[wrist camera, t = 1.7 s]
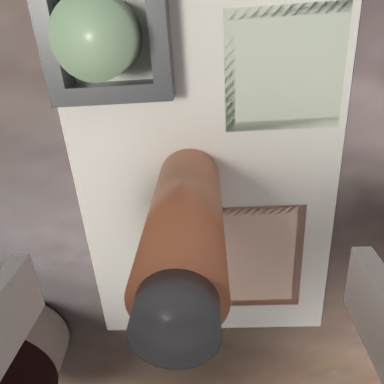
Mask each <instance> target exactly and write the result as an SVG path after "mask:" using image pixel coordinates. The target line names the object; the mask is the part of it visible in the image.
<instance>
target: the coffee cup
mask: <svg viewBox="0 0 384 384" xmlns="http://www.w3.org/2000/svg"><path fill="white" fill-rule="evenodd" d="M68 345H69V330H68V327H67V325H66V323H65V321H64V320H63V319H62V318H61V316H60V315H59V314H58V313H57V312H55V311H54V310H53V309H51V308H49V307H48V306H46V305H45V306H44V308H43V310H42V311H41V313H40V315H39V316H38V318H37V320H36V322H35V323H34V325H33V327H32V328H31V330H30V332H29V334H28V335H27V337H26V339H25V340H24V342H23V344H22V346H21V347H20V349H19V351H18V352H17V354H16V356H15V358H14V359H13V361H12V363H11V364H10V366H9V368H8V370H7V371H6V373H5V375H4V376H3V378H2V380H1V382H0V384H58V375H59V372H60V369H61V366H62V363H63V360H64V357H65V354H66V351H67V348H68Z"/></svg>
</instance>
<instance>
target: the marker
mask: <svg viewBox="0 0 384 384" xmlns="http://www.w3.org/2000/svg"><path fill="white" fill-rule="evenodd" d="M124 302H125V307H126V310H127V312H128V315H129V316H130V318H129V322H128V325H127V331H126V335H127V340H128V343H129V345H130V347H131V349H132V350H133V351H134V353H135V354H136V355H137V356H138V357H140V358H141V359H142V360H144V361H145V362H147V363H149V364H151V365H154V366H157V367H160V368H164V369H171V370H182V369H189V368H193V367H197V366H199V365H202V364H204V363H205V362H207V361H208V360H210V359H211V358H212V357H213V356H214V355H215V354H216V353H217V351H218V350H219V348H220V345H221V341H222V329H221V325H222V324H223V323H224V321H225V320H226V318H227V316H228V314H229V311H230V307H231V298H230V287H229V276H228V265H227V254H226V243H225V233H224V222H223V211H222V200H221V189H220V178H219V170H218V167H217V165H216V163H215V161H214V160H213V159H212V158H211V157H210V156H209V155H208V154H206V153H205V152H203V151H200V150H197V149H181V150H178V151H176V152H174V153H172V154H171V155H170V156H169V157H167V159H166V160H165V161H164V163H163V165H162V167H161V171H160V174H159V178H158V181H157V184H156V188H155V191H154V194H153V198H152V201H151V205H150V208H149V211H148V215H147V218H146V222H145V225H144V228H143V232H142V235H141V238H140V242H139V245H138V249H137V252H136V255H135V259H134V262H133V266H132V269H131V272H130V276H129V279H128V282H127V286H126V289H125V294H124Z"/></svg>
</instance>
